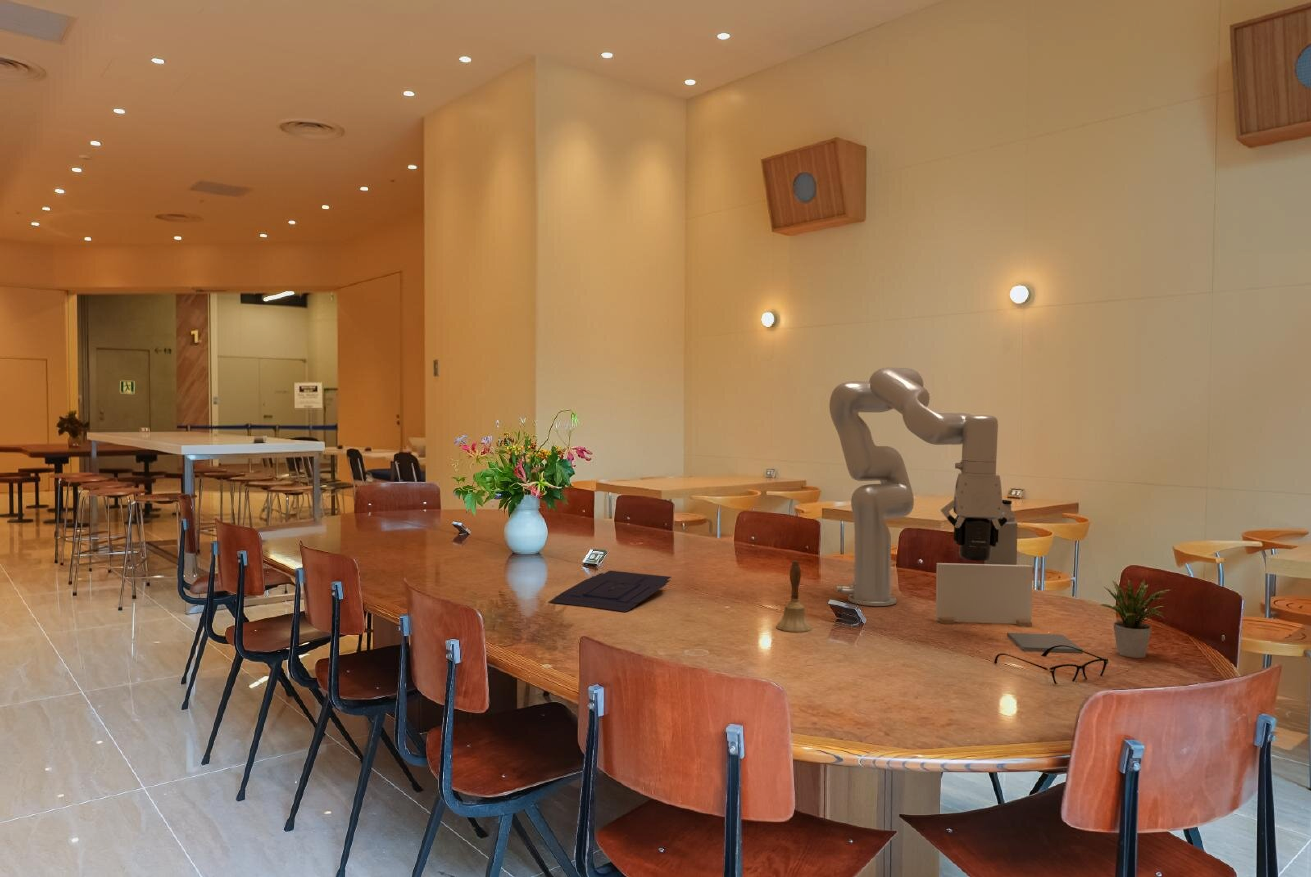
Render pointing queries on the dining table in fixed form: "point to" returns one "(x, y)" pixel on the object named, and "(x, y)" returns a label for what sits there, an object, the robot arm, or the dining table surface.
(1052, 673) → the eyeglasses
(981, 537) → the supplement bottle
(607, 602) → the black flat stepped slab
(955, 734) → the dining table surface
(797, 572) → the hand bell
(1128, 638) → the house plant
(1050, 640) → the pad
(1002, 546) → the thermos bottle
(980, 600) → the screen
